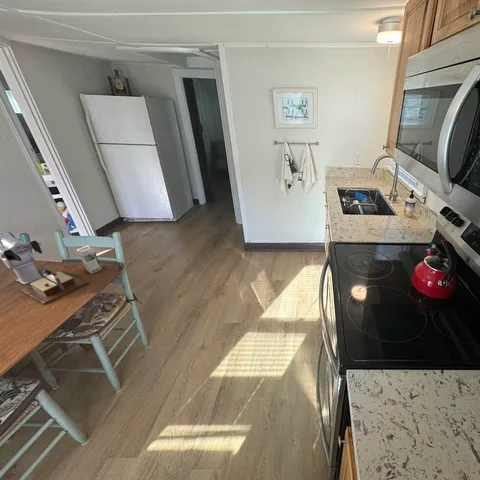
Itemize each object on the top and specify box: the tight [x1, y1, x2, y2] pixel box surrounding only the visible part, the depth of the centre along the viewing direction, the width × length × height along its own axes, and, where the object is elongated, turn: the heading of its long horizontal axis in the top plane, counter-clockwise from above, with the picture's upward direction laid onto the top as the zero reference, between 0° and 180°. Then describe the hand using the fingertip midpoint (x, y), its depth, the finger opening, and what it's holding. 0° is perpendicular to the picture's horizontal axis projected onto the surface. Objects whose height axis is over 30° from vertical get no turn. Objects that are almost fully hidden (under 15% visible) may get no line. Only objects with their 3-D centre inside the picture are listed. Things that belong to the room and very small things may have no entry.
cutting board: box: [20, 268, 89, 305], centre depth 136 cm, size 24×18×8 cm
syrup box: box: [76, 244, 103, 275], centre depth 148 cm, size 6×6×14 cm
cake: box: [29, 271, 75, 296], centre depth 136 cm, size 14×12×5 cm
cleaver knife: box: [39, 267, 57, 283], centre depth 134 cm, size 15×2×6 cm, turn 64°
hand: (30, 255), depth 127 cm, fingers open, 7 cm apart
